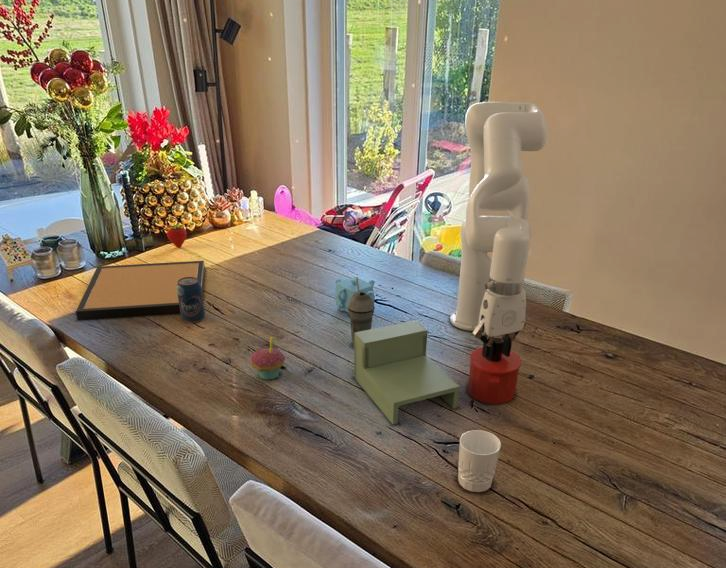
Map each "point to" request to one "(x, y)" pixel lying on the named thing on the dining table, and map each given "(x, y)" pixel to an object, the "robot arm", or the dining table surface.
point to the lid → (496, 360)
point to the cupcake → (267, 361)
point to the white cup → (477, 460)
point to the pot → (491, 386)
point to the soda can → (190, 299)
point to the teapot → (351, 291)
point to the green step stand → (399, 368)
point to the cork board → (136, 289)
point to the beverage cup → (360, 311)
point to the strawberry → (177, 235)
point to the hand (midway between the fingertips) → (495, 355)
